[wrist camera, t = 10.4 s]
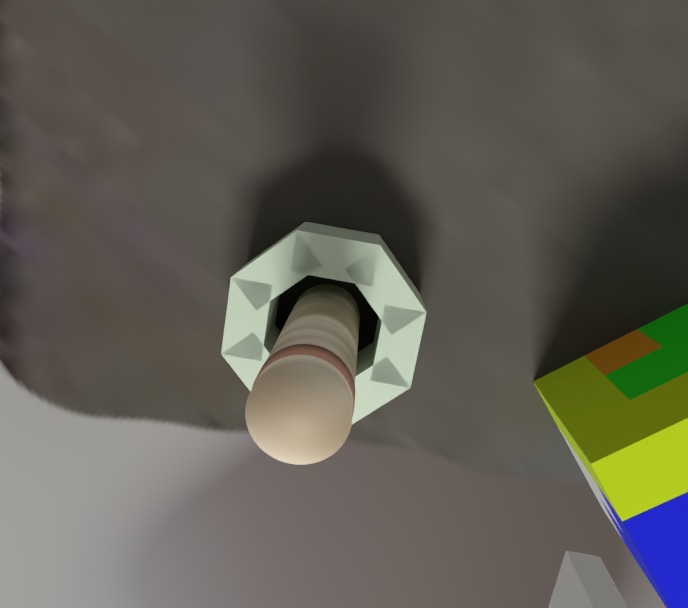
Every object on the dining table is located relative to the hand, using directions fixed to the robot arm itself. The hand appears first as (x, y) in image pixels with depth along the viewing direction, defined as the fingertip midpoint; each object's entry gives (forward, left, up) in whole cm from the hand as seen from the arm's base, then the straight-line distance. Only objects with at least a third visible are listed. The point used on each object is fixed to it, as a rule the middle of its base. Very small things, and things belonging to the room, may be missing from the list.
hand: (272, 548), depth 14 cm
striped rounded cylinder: (+1, 0, -23) cm, 23 cm away
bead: (+1, 0, -23) cm, 23 cm away
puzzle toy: (+3, +20, -23) cm, 31 cm away
